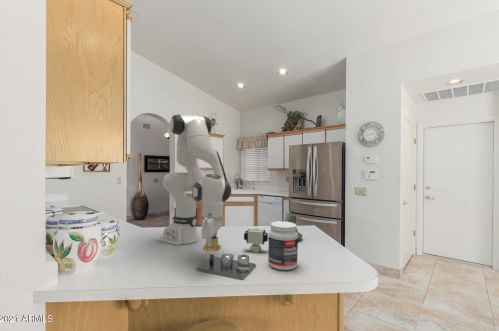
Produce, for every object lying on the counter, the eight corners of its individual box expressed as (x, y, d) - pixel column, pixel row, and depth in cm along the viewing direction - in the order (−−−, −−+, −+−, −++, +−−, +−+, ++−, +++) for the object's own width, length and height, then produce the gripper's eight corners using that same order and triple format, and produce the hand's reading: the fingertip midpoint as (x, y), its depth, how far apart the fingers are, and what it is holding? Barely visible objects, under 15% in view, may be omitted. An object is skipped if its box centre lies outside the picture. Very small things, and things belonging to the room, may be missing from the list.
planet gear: (200, 251, 108) (201, 239, 108) (206, 246, 115) (206, 234, 115) (217, 252, 106) (217, 240, 106) (222, 247, 114) (222, 235, 114)
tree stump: (262, 236, 158) (269, 208, 160) (291, 242, 163) (297, 215, 165) (274, 244, 140) (281, 212, 142) (305, 250, 146) (312, 219, 148)
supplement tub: (291, 274, 104) (292, 229, 104) (263, 267, 110) (263, 225, 110) (301, 263, 115) (302, 223, 115) (275, 258, 122) (275, 219, 121)
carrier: (196, 270, 106) (196, 254, 106) (213, 259, 119) (213, 244, 119) (243, 280, 98) (243, 262, 98) (255, 266, 111) (256, 251, 111)
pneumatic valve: (266, 254, 126) (267, 230, 126) (243, 252, 129) (243, 228, 128) (267, 250, 132) (268, 227, 132) (245, 248, 134) (246, 225, 134)
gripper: (213, 216, 100) (212, 251, 100) (224, 208, 120) (223, 237, 120) (197, 215, 101) (197, 250, 101) (211, 207, 121) (210, 237, 121)
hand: (211, 243), depth 111 cm, fingers closed on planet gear, 5 cm apart
